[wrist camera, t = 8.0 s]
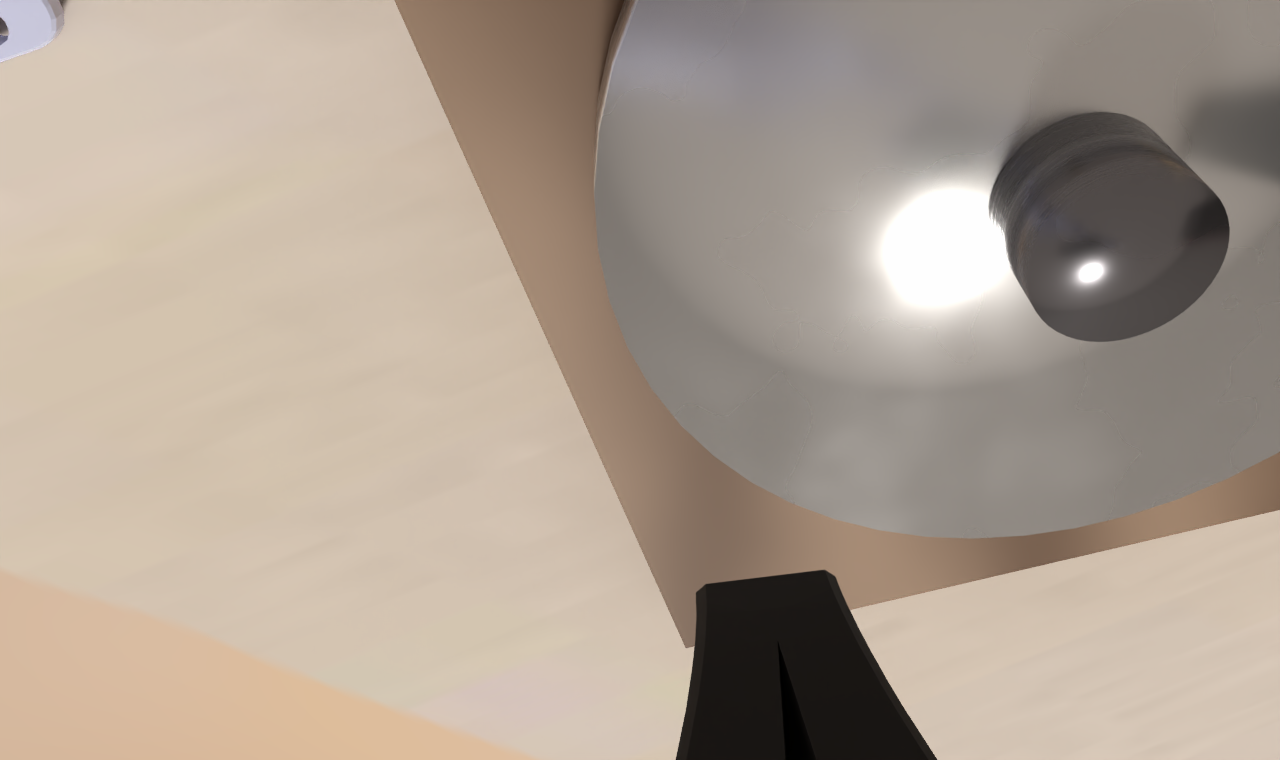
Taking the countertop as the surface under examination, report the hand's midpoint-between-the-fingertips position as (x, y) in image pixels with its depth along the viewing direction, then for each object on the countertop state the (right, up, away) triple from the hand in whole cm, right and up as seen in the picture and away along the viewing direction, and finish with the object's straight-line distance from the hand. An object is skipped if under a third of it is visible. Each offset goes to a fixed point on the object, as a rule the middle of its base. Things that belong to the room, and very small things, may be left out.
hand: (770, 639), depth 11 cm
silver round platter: (+5, +7, +5) cm, 10 cm away
